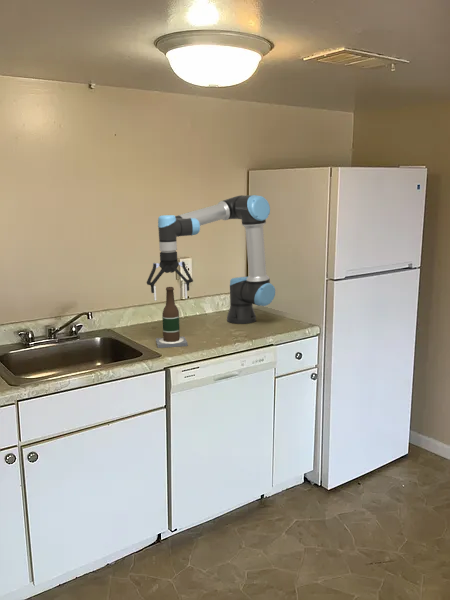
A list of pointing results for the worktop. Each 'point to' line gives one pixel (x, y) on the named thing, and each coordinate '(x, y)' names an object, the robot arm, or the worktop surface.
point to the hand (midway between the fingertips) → (170, 299)
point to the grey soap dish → (171, 343)
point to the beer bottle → (170, 318)
